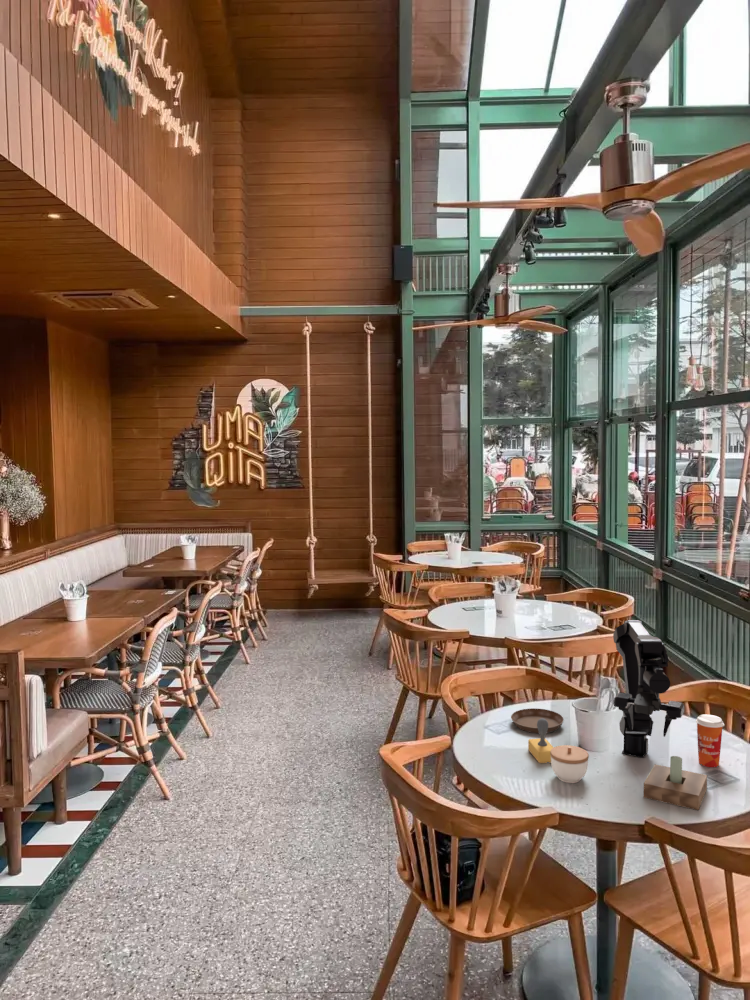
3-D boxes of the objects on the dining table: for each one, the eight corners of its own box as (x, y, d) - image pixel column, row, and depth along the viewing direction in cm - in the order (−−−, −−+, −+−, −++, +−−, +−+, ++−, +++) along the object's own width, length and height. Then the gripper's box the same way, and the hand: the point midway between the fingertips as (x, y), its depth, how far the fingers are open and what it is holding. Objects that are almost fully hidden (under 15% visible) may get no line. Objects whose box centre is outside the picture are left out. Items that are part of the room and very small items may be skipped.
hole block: (643, 797, 204) (643, 783, 204) (654, 777, 216) (654, 764, 216) (698, 810, 197) (698, 795, 197) (706, 789, 209) (707, 775, 208)
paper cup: (691, 764, 225) (692, 718, 224) (700, 755, 230) (701, 711, 229) (718, 771, 219) (719, 725, 218) (726, 763, 225) (728, 718, 224)
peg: (668, 794, 206) (669, 759, 205) (670, 789, 209) (671, 755, 208) (680, 796, 204) (681, 761, 204) (682, 792, 207) (683, 757, 206)
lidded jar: (569, 790, 209) (570, 758, 208) (542, 776, 218) (542, 745, 217) (596, 780, 215) (596, 749, 214) (568, 767, 224) (568, 736, 223)
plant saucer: (524, 738, 246) (524, 729, 246) (502, 719, 263) (502, 711, 263) (573, 732, 250) (573, 724, 250) (548, 714, 267) (548, 706, 267)
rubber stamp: (557, 762, 227) (557, 723, 227) (538, 763, 227) (538, 725, 226) (545, 748, 237) (545, 712, 236) (527, 750, 237) (528, 713, 236)
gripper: (609, 684, 215) (608, 736, 217) (678, 695, 206) (676, 750, 207) (619, 673, 225) (618, 723, 226) (685, 683, 215) (683, 735, 217)
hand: (647, 732), depth 219 cm, fingers open, 9 cm apart
